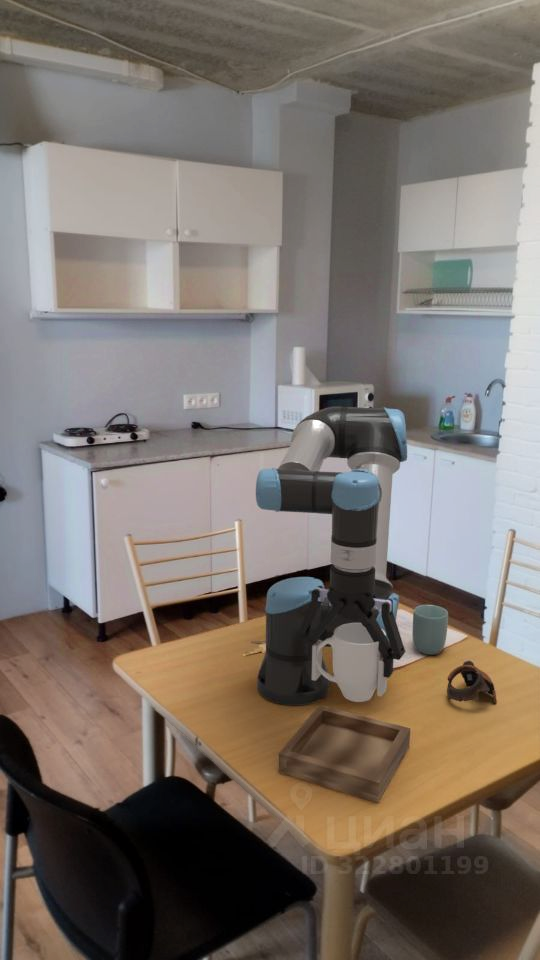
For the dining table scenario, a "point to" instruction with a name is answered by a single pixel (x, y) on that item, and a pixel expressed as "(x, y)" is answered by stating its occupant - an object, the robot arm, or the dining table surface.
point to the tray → (345, 752)
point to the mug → (353, 661)
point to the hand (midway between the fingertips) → (348, 684)
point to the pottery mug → (470, 683)
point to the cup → (429, 628)
